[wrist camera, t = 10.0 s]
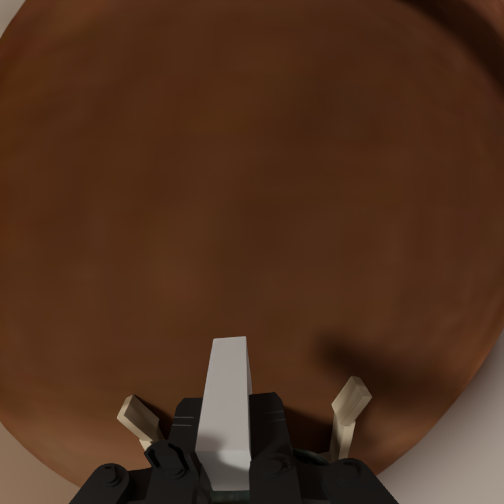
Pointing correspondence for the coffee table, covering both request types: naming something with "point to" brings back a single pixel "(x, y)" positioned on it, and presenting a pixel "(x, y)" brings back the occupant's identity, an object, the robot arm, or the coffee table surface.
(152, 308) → the coffee table surface
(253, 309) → the coffee table surface
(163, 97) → the coffee table surface
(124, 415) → the wooden u-frame
